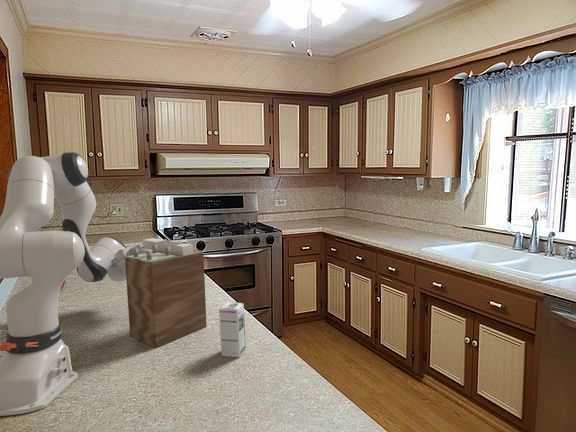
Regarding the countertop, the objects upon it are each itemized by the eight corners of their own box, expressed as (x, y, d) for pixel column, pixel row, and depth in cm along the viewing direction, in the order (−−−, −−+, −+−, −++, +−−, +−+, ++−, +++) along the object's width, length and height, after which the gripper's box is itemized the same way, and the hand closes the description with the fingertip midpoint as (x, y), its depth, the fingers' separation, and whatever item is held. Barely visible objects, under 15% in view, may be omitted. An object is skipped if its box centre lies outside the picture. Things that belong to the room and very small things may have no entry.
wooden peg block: (206, 326, 143) (203, 243, 139) (156, 348, 127) (151, 254, 123) (180, 318, 151) (176, 239, 147) (130, 337, 135) (124, 248, 132)
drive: (193, 253, 137) (192, 244, 137) (183, 255, 134) (182, 246, 134) (152, 246, 150) (152, 237, 150) (143, 248, 147) (142, 239, 147)
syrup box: (240, 358, 120) (238, 309, 118) (220, 356, 121) (218, 307, 119) (246, 349, 125) (244, 302, 123) (227, 347, 126) (225, 301, 125)
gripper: (105, 255, 147) (123, 239, 139) (155, 246, 163) (174, 231, 155) (111, 272, 146) (130, 257, 138) (161, 260, 162) (180, 246, 154)
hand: (153, 243), depth 146 cm, fingers open, 8 cm apart
